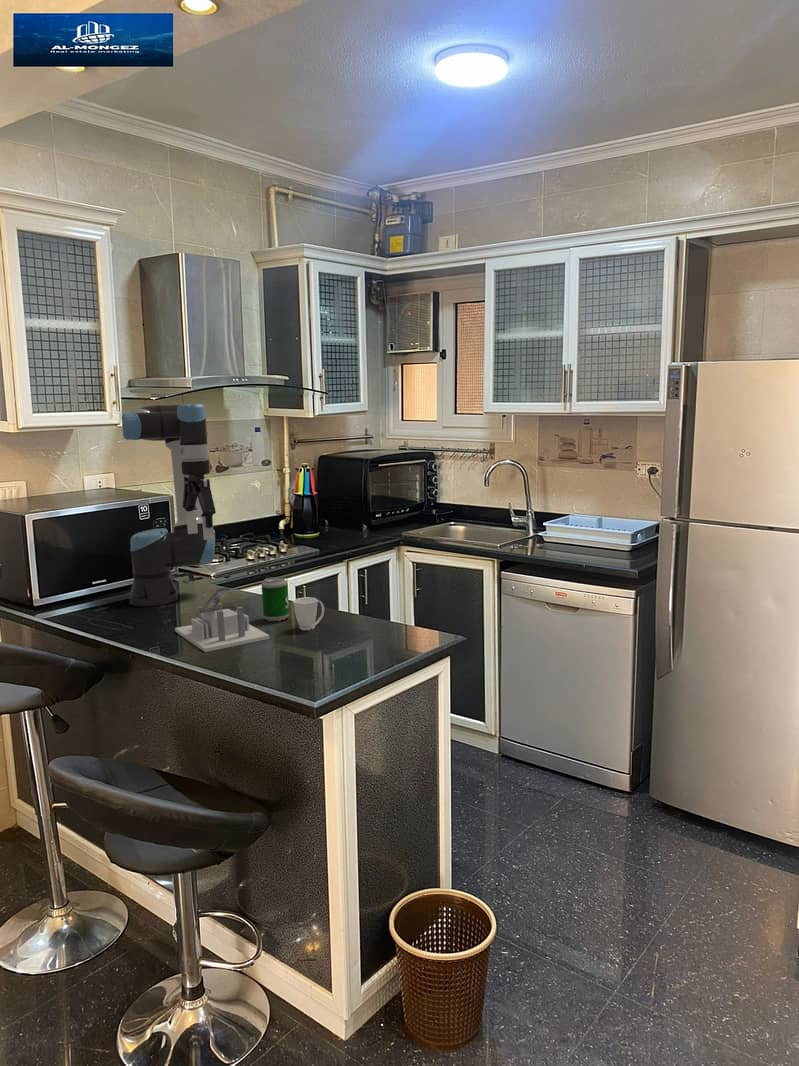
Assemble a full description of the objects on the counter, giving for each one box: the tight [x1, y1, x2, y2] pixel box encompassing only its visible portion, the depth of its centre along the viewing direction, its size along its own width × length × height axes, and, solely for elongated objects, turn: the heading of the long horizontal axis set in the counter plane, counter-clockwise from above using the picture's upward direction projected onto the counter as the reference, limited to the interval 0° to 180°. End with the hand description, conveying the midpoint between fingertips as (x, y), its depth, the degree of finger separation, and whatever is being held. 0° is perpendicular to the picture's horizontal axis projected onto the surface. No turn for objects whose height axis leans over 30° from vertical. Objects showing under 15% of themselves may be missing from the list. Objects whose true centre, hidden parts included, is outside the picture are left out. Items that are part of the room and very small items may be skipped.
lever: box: [204, 586, 230, 609], centre depth 216 cm, size 14×3×2 cm, turn 33°
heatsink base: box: [174, 602, 270, 653], centre depth 216 cm, size 24×18×9 cm
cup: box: [292, 597, 325, 631], centre depth 221 cm, size 7×10×8 cm
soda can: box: [261, 576, 290, 622], centre depth 230 cm, size 8×8×12 cm
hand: (200, 536), depth 223 cm, fingers open, 12 cm apart
